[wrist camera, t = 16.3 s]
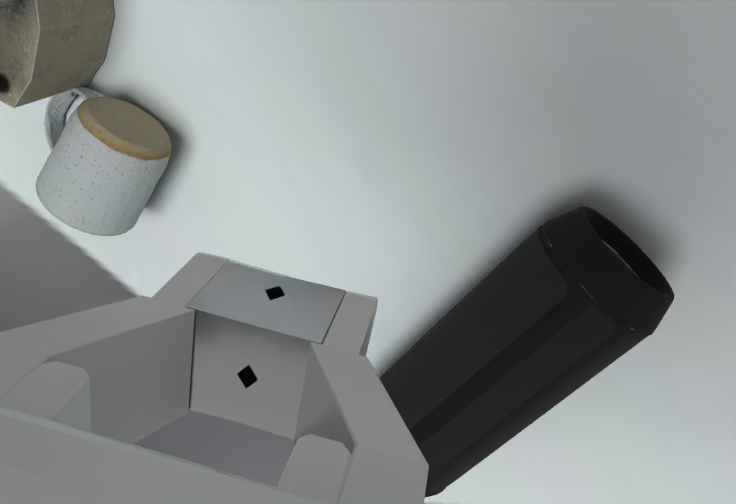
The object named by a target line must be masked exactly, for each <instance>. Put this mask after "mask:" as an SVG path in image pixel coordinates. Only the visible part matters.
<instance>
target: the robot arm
mask: <svg viewBox="0 0 736 504" xmlns="http://www.w3.org/2000/svg"><path fill="white" fill-rule="evenodd" d="M377 303H378V299H377V297H372V296H367V295H363V294H358V293H354V292H349V291H348V292H346V290H341V289H337V288H333V287H329V286H325V285H320V284H316V283H312V282H308V281H304V280H299V279H295V278H291V277H289V276H286V275H283V274H279V273H276V272H272V271H269V270H265V269H262V268H258V267H255V266H251V265H248V264H244V263H241V262H237V261H234V260H230V259H228V258H224V257H220V256H216V255H212V254H207V253H197V254H196V255H195V256H194V257H193V258H192V259H191V260H190V261H189V262H188V263H187V264H186V265H185V266H184V267H183V268H181V269H180V270H179V271H178V272H177V273H176V274H175V275H174V276H173V277H172V278H171V279H170V280H169V281H168V282H167V283H166V284H165V285H164V286H163V287H162V288H161V289H160V290H159V291H158V292H157V293H156V294H155V295H154V296H153V297H152V298H149V297H145V296H139V297H135V298H132V299H128V300H124V301H120V302H116V303H113V304H108V305H104V306H101V307H97V308H93V309H89V310H85V311H81V312H78V313H74V314H70V315H66V316H62V317H58V318H54V319H50V320H46V321H43V322H39V323H35V324H31V325H27V326H23V327H19V328H16V329H12V330H8V331H4V332H0V504H424V498H425V491H426V484H427V476H428V469H429V465H428V463H427V462H426V460H425V458H424V456H423V455H422V453H421V451H420V449H419V447H418V446H417V444H416V442H415V440H414V439H413V437H412V435H411V433H410V432H409V430H408V428H407V426H406V425H405V423H404V421H403V419H402V418H401V416H400V414H399V412H398V411H397V409H396V407H395V405H394V404H393V402H392V400H391V398H390V396H389V395H388V393H387V391H386V389H385V388H384V386H383V384H382V382H381V381H380V379H379V377H378V375H377V374H376V372H375V370H374V368H373V367H372V365H371V363H370V361H369V360H368V358H367V357H366V353H367V349H368V344H369V340H370V336H371V331H372V327H373V323H374V318H375V314H376V310H377ZM188 409H189V410H193V411H196V412H200V413H204V414H208V415H212V416H216V417H220V418H224V419H228V420H231V421H235V422H239V423H243V424H246V425H249V426H252V427H255V428H259V429H261V430H265V431H268V432H271V433H274V434H277V435H280V436H284V437H287V438H290V439H293V440H294V445H295V447H294V449H293V451H292V454H291V456H290V459H289V461H288V463H287V465H286V467H285V470H284V472H283V474H282V477H281V479H280V481H279V483H278V485H277V487H275V486H271V485H268V484H265V483H261V482H258V481H255V480H251V479H248V478H245V477H241V476H238V475H235V474H231V473H228V472H225V471H221V470H218V469H214V468H211V467H208V466H204V465H201V464H197V463H194V462H191V461H187V460H184V459H180V458H177V457H174V456H170V455H167V454H163V453H160V452H157V451H153V450H150V449H146V448H143V447H139V446H136V445H133V443H135V442H137V441H138V440H140V439H142V438H144V437H146V436H147V435H149V434H151V433H153V432H154V431H156V430H158V429H160V428H161V427H163V426H165V425H167V424H169V423H170V422H172V421H174V420H176V419H177V418H179V417H181V416H183V415H184V414H186V413H188Z"/></svg>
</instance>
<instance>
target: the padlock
mask: <svg viewBox="0 0 736 504" xmlns="http://www.w3.org/2000/svg"><path fill="white" fill-rule="evenodd" d="M113 21H114V8H113V0H0V101H1V102H3V103H5V104H7V105H9V106H11V107H13V108H15V107H19V106H22V105H25V104H28V103H31V102H34V101H37V100H41V99H44V98H47V97H50V96H53V95H56V94H59V93H63V92H66V91H69V90H72V89H74V88H76V87H81V86H84V85H88V84H89V82H90V81H91V79H92V78H93V76H94V75H95V73H96V72H97V71H98V69H99V68H100V66H101V65H102V63H103V62H104V60H105V56H106V51H107V47H108V42H109V38H110V34H111V29H112V25H113Z"/></svg>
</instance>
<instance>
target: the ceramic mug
mask: <svg viewBox="0 0 736 504" xmlns="http://www.w3.org/2000/svg"><path fill="white" fill-rule="evenodd" d="M77 94H79V95H80V96H81V97H82V98H83V99H84V100H85V101H83V102H82V103H81V104H80V105H79V106H78V107H77V108H76V110H75V111H74V112H73V113H72V114H71V116H70V118H69V119H68V121H67V123H66V125H65V127H64V126H63V120H64V115H65V112H66V110H67V108H68V107H69V105H70V104H71V102H72V101H73V100H74V99H75V97H76V95H77ZM45 132H46V137H47V141H48V143H49V146H50V149H51V151H52V152H51V154H50V155H49V157H48V159H47V161H46V163H45V165H44V167H43V169H42V170H41V172H40V174H39V176H38V178H37V181H36V191H37V195H38V197H39V199H40V201H41V202H42V204H43V206H44V207H45V208H46V209H47V210H48V211H49V212H50V213H51V214H52V215H54V216H55V217H56V218H57V219H59V220H60V221H62V222H63V223H65V224H67V225H69V226H71V227H73V228H75V229H78V230H80V231H82V232H85V233H89V234H93V235H101V236H115V235H120V234H123V233H126V232H127V231H129V230H130V229H131V228H133V226H134V225H135V224H136V222H137V220H138V218H139V216H140V214H141V213H142V211H143V209H144V207H145V205H146V203H147V202H148V200H149V198H150V196H151V194H152V192H153V190H154V188H155V186H156V184H157V182H158V181H159V179H160V177H161V176H162V174H163V172H164V171H165V169H166V166H167V164H168V161H169V158H170V154H171V150H172V144H171V140H170V137H169V135H168V134H167V132H166V130H165V129H164V127H163V126H162V125H161V124H160V123H159V122H158V121H157V120H156V119H155V118H154V117H152V116H151V115H150V114H148V113H147V112H145V111H144V110H142V109H140V108H138V107H136V106H135V105H133V104H130V103H128V102H125V101H122V100H119V99H116V98H110V97H100V96H99V95H98V94H97V93H95V92H94V91H92V90H91V89H89V88H85V87H76V88H74V89H72V90H69V91H66V92H63V93H59V94H56V95H53V96H52V97H51V99H50V101H49V103H48V105H47V109H46V113H45Z"/></svg>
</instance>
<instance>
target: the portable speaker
mask: <svg viewBox="0 0 736 504" xmlns="http://www.w3.org/2000/svg"><path fill="white" fill-rule="evenodd" d="M673 300H674V293H673V291H672V288H671V287H670V285H669V283H668V282H667V280H666V279H665V277H664V276H663V274H662V273H661V272H660V271H659V269H658V268H657V267H656V266H655V264H654V263H653V262H652V261H651V260H650V259H649V258H648V256H647V255H646V254H645V253H644V252H643V251H642V250H641V249H640V248H639V247H638V246H637V245H636V244H635V243H634V242H633V241H632V240H631V239H630V238H629V237H628V236H627V235H626V234H625V233H623V232H622V231H621V230H620V229H619V228H618V227H617V226H615V225H614V224H613V223H612V222H611V221H609V220H608V219H607V218H605V217H604V216H603V215H601V214H599V213H598V212H596V211H595V210H593V209H591V208H589V207H580V208H578V209H575V210H573V211H571V212H568V213H566V214H564V215H561V216H559V217H557V218H555V219H552V220H550V221H548V222H546V223H545V224H544V225H543V226H541V227H540V228H539V229H537V230H536V231H535V232H534V233H533V234H532V235H531V236H530V237H529V238H527V239H526V240H525V241H524V242H523V243H522V244H521V245H520V246H519V247H518V248H517V249H516V250H515V251H514V252H513V253H512V254H510V255H509V256H508V257H507V258H506V259H505V260H504V261H503V262H502V263H501V264H500V265H499V266H498V267H497V268H496V269H495V270H494V271H492V272H491V273H490V274H489V275H488V276H487V277H486V278H485V279H484V280H483V281H482V282H481V283H480V284H479V285H478V286H477V287H476V288H474V289H473V290H472V291H471V292H470V293H469V294H468V295H467V296H466V297H465V298H464V299H463V300H462V301H461V302H460V303H459V304H458V305H457V306H455V307H454V308H453V309H452V310H451V311H450V312H449V313H448V314H447V315H446V316H445V317H444V318H443V319H442V320H441V321H440V322H439V323H437V324H436V325H435V326H434V327H433V328H432V329H431V330H430V331H429V332H428V333H427V334H426V335H425V336H424V337H423V338H422V339H421V340H419V341H418V342H417V343H416V344H415V345H414V346H413V347H412V348H411V349H410V350H409V351H408V352H407V353H406V354H405V355H404V356H403V357H402V358H400V359H399V360H398V361H397V362H396V363H395V364H394V365H393V366H392V367H391V368H390V369H389V370H388V371H387V372H386V373H385V374H384V375H382V376H381V377H380V378H379V379H380V381H381V382H382V384H383V386H384V388H385V389H386V391H387V393H388V395H389V396H390V398H391V400H392V402H393V404H394V405H395V407H396V409H397V411H398V412H399V414H400V416H401V418H402V419H403V421H404V423H405V425H406V426H407V428H408V430H409V432H410V433H411V435H412V437H413V439H414V440H415V442H416V444H417V446H418V447H419V449H420V451H421V453H422V455H423V456H424V458H425V460H426V462H427V463H428V465H429V469H428V476H427V484H426V491H425V497H429V496H433V495H437V494H439V493H440V492H442V491H443V490H444V489H445V488H446V487H447V486H448V485H450V484H451V483H453V482H454V481H455V480H457V479H458V478H459V477H461V476H462V475H463V474H465V473H466V472H467V471H469V470H470V469H471V468H473V467H474V466H475V465H477V464H478V463H479V462H481V461H482V460H483V459H485V458H486V457H487V456H489V455H490V454H491V453H493V452H494V451H495V450H497V449H498V448H499V447H501V446H502V445H503V444H505V443H506V442H507V441H509V440H510V439H511V438H513V437H514V436H515V435H517V434H518V433H519V432H521V431H522V430H523V429H525V428H526V427H527V426H529V425H530V424H531V423H533V422H534V421H535V420H537V419H538V418H539V417H541V416H542V415H543V414H545V413H546V412H547V411H549V410H550V409H551V408H553V407H554V406H555V405H557V404H558V403H559V402H561V401H562V400H563V399H565V398H566V397H567V396H569V395H570V394H571V393H573V392H574V391H575V390H577V389H578V388H579V387H581V386H582V385H583V384H585V383H586V382H587V381H589V380H590V379H591V378H593V377H594V376H595V375H597V374H598V373H599V372H601V371H602V370H603V369H605V368H606V367H607V366H609V365H610V364H611V363H613V362H614V361H615V360H617V359H618V358H619V357H621V356H622V355H623V354H625V353H626V352H627V351H629V350H630V349H631V348H633V347H634V346H635V345H637V344H638V343H639V342H641V341H642V340H643V339H645V338H646V337H647V336H649V335H651V334H652V333H653V332H654V331H655V329H656V328H657V326H658V325H659V323H660V321H661V320H662V318H663V316H664V315H665V313H666V311H667V310H668V308H669V306H670V305H671V303H672V301H673Z"/></svg>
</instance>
